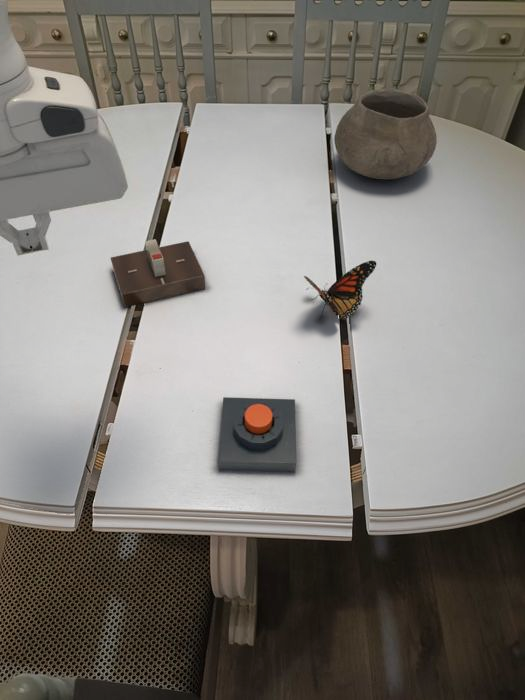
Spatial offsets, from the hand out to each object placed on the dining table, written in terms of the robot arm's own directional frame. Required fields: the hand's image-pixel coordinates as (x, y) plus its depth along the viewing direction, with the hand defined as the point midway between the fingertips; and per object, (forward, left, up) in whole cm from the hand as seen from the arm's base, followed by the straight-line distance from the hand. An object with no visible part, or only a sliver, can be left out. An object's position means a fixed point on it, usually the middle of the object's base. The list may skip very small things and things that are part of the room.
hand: (33, 249), depth 52 cm
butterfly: (+40, +8, -29) cm, 50 cm away
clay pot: (+70, +45, -29) cm, 88 cm away
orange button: (+20, -11, -25) cm, 34 cm away
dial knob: (+15, +25, -26) cm, 39 cm away
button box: (+20, -11, -29) cm, 37 cm away
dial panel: (+15, +25, -29) cm, 41 cm away
